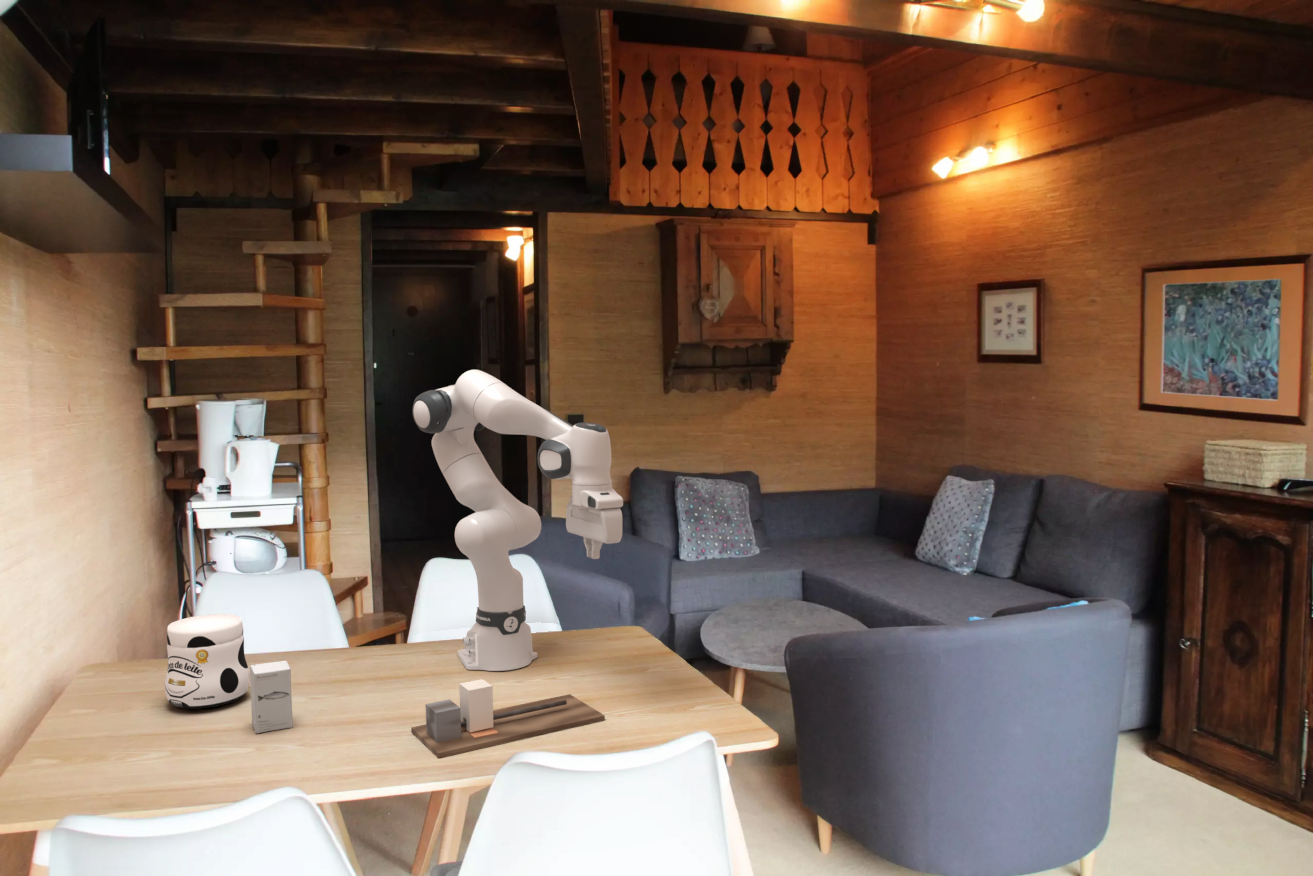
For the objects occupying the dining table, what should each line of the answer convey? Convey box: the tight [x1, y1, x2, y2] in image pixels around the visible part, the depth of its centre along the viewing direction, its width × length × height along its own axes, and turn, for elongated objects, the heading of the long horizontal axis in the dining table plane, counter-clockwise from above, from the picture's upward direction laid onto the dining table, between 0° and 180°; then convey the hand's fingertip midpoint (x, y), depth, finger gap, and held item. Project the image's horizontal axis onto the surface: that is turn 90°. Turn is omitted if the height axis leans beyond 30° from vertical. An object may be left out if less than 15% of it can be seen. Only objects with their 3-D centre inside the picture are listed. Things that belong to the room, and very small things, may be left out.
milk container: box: [164, 613, 250, 710], centre depth 220 cm, size 17×17×18 cm
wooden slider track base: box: [410, 693, 606, 759], centre depth 203 cm, size 16×36×7 cm, turn 122°
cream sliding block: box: [458, 678, 494, 732], centre depth 199 cm, size 5×5×8 cm
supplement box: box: [249, 660, 294, 734], centre depth 205 cm, size 7×7×13 cm
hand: (593, 558), depth 219 cm, fingers closed
